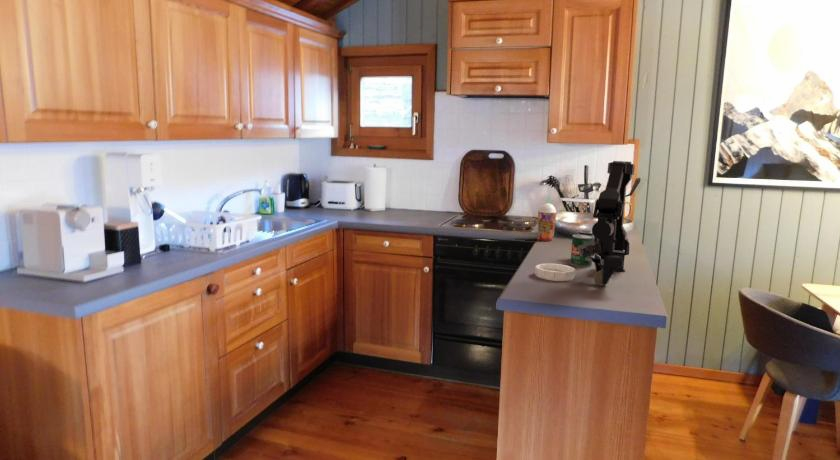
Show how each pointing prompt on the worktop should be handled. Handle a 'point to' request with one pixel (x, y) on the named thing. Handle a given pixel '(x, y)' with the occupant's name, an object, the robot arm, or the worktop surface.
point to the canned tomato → (575, 255)
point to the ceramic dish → (555, 272)
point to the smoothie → (546, 221)
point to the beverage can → (585, 232)
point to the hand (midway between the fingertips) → (601, 281)
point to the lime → (599, 278)
